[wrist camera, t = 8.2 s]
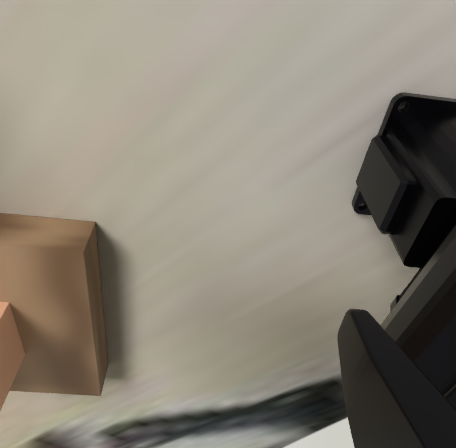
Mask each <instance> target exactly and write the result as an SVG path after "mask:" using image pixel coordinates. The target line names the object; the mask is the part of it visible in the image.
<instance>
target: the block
mask: <svg viewBox="0 0 456 448" xmlns="http://www.w3.org/2000/svg"><path fill="white" fill-rule="evenodd" d="M24 356H25V352H24V349H23V346H22V342H21V339H20V336H19V333H18V329H17V326H16V323H15V320H14V317H13V313H12V310H11V307H10V304H9V302H0V410H1V408H2V406H3V404H4V401H5V399H6V397H7V395H8V392H9V390H10V388H11V385H12V383H13V381H14V379H15V376H16V374H17V372H18V370H19V367H20V365H21V363H22V360H23V358H24Z"/></svg>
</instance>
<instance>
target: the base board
mask: <svg viewBox="0 0 456 448" xmlns="http://www.w3.org/2000/svg"><path fill="white" fill-rule="evenodd" d="M0 302H9V304H10V307H11V310H12V313H13V317H14V320H15V323H16V326H17V329H18V333H19V336H20V339H21V342H22V346H23V349H24V352H25V356H24V358H23V360H22V363H21V365H20V367H19V370H18V372H17V374H16V376H15V379H14V381H13V383H12V385H11V388H10V390H9V391H24V392H42V393H59V394H77V395H95V396H101V392H102V388H103V384H104V380H105V376H106V372H107V368H108V356H107V345H106V334H105V323H104V312H103V301H102V290H101V279H100V268H99V257H98V246H97V235H96V224H95V222H88V221H77V220H67V219H56V218H45V217H34V216H24V215H13V214H2V213H0Z"/></svg>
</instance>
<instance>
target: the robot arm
mask: <svg viewBox="0 0 456 448" xmlns="http://www.w3.org/2000/svg"><path fill="white" fill-rule="evenodd" d="M404 101H407V103H406V105H405V107H403V108H402V109H398V106H399V105H400V103H402V102H404ZM356 183H357V185H358V187H357V190H356V192H355V195H354V198H353V200H352V206H353V209H354V211H355V212H356V213H358V214H365V215H372V217H373V219H374V221H375V223H376V225H377V227H378V229H379V230H380V232H381V233H382V234H389V236H390V238H391V240H392V242H393V244H394V246H395V248H396V250H397V252H398V254H399V256H400V258H401V260H402V262H403V264H404V265H405V266H408V267H418V268H420V269H419V271H418V272H417V273H416V275H415V276H414V277H413V279H412V280H411V282H410V283H409V284H408V286H407V287H406V288H405V290H404V291H403V292H402V294H401V295H398V296H396V298H395V299H394V300H393V302H392V303H391V312H390V314H389V315H388V316H387V318H386V319H385V320H384V322H383V323H382V324H381V326H380V325H379V324H378V322H377V321H376V320H375V319H374V318H373V317H372V316H371V315H370V314H369V313H368V312H367V311H366V310H360V309H349V310H348V311H347V312H346V314H345V316H344V319H343V321H342V323H341V326H340V328H339V331H338V348H339V357H340V366H341V375H342V384H343V393H344V400H345V406H346V411H347V416H348V420H349V425H350V429H351V434H352V438H353V443H354V447H355V448H456V99H451V98H443V97H435V96H427V95H420V94H412V93H400V94H397V95H396V96H395V97H393V98H392V100H391V102H390V104H389V107H388V109H387V112H386V115H385V117H384V120H383V122H382V125H381V128H380V130H379V133H378V135H377V136H375V137H374V138H373V139H372V140H371V143H370V146H369V148H368V151H367V154H366V156H365V159H364V161H363V164H362V167H361V169H360V172H359V175H358V177H357V180H356ZM361 203H365V204H364V205H363V206H359V205H360V204H361Z"/></svg>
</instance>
